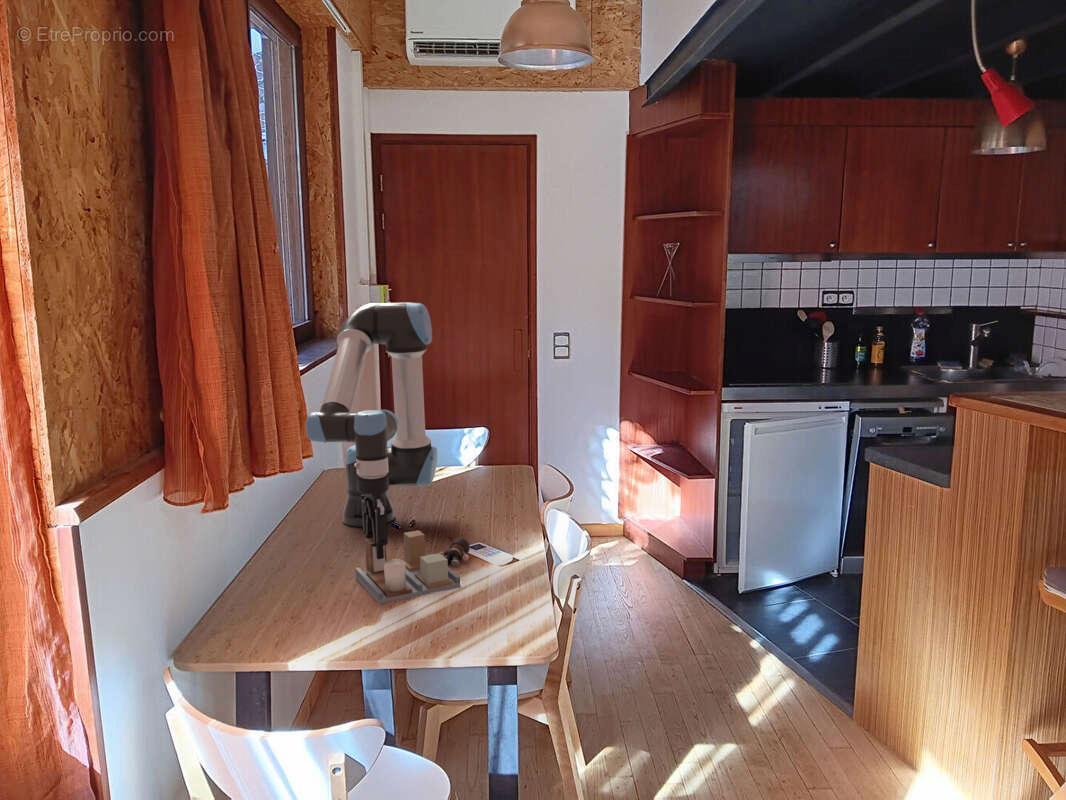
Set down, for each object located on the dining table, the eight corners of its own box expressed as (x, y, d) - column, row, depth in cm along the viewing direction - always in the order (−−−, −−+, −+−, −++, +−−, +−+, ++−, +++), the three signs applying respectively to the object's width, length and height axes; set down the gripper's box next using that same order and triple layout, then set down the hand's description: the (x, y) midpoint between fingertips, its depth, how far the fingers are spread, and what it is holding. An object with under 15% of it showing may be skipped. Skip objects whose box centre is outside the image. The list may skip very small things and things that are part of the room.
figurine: (464, 573, 211) (479, 552, 220) (462, 556, 210) (477, 536, 218) (434, 569, 214) (450, 549, 223) (432, 552, 212) (448, 532, 221)
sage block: (420, 576, 200) (419, 556, 199) (440, 572, 202) (439, 553, 202) (428, 583, 196) (427, 563, 195) (448, 579, 198) (447, 559, 197)
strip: (362, 571, 206) (360, 539, 205) (385, 566, 209) (384, 535, 208) (387, 597, 190) (385, 564, 188) (412, 592, 192) (411, 559, 191)
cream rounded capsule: (382, 585, 194) (381, 561, 193) (401, 582, 197) (400, 557, 196) (388, 593, 190) (387, 567, 189) (408, 589, 193) (408, 564, 192)
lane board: (354, 576, 205) (352, 541, 204) (431, 562, 215) (429, 528, 213) (378, 603, 189) (377, 565, 187) (460, 586, 198) (459, 550, 197)
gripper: (347, 469, 207) (351, 559, 211) (368, 485, 193) (372, 581, 196) (376, 465, 211) (380, 554, 215) (399, 480, 196) (402, 575, 200)
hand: (376, 567), depth 206 cm, fingers closed on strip, 4 cm apart
